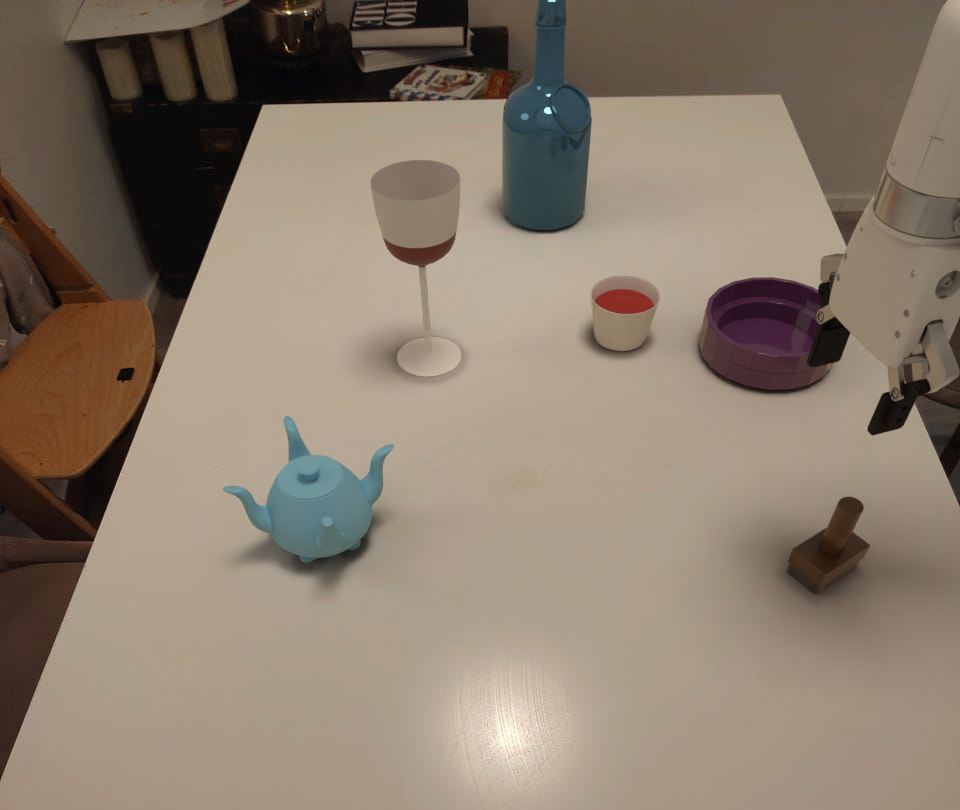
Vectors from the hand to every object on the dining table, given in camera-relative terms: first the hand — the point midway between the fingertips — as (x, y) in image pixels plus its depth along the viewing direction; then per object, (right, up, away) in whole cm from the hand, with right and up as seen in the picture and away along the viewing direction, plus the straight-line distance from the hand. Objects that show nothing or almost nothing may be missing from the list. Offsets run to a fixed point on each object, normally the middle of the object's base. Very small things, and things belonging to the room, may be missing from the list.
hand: (852, 395), depth 75 cm
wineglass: (-39, +16, +39) cm, 58 cm away
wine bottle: (-23, +46, +60) cm, 79 cm away
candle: (-14, +19, +41) cm, 47 cm away
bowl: (+5, +17, +38) cm, 42 cm away
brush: (+4, -14, +16) cm, 21 cm away
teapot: (-50, -10, +20) cm, 55 cm away
